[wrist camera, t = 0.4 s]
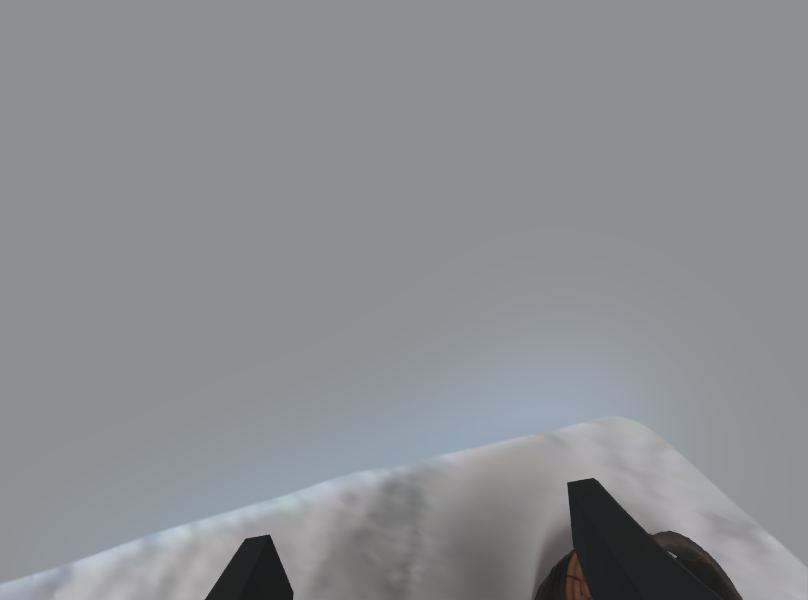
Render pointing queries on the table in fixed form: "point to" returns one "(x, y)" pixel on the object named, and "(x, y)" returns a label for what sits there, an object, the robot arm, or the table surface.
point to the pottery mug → (566, 587)
